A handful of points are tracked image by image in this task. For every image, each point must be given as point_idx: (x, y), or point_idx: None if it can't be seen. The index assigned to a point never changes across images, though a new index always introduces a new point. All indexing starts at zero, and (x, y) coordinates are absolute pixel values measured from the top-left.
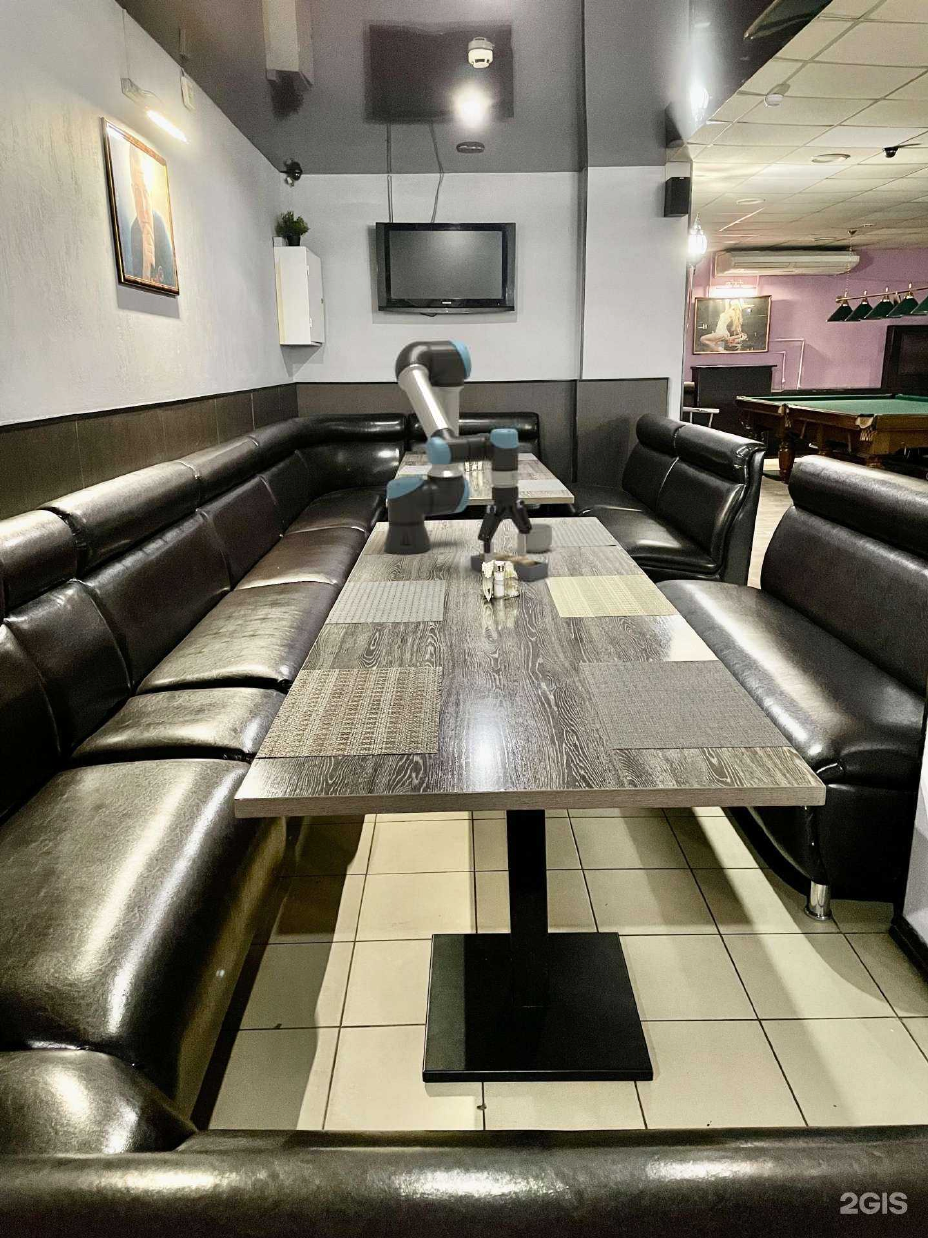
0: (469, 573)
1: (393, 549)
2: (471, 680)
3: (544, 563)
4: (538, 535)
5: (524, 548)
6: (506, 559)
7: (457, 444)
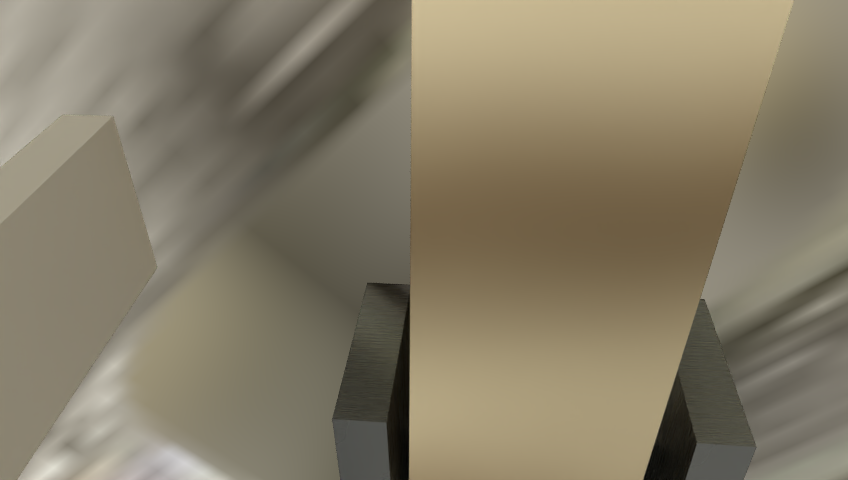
0: (823, 405)
1: None
2: None
3: None
4: None
5: (14, 207)
6: (757, 108)
7: None
